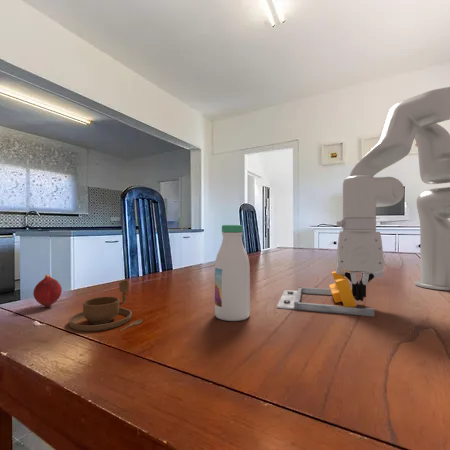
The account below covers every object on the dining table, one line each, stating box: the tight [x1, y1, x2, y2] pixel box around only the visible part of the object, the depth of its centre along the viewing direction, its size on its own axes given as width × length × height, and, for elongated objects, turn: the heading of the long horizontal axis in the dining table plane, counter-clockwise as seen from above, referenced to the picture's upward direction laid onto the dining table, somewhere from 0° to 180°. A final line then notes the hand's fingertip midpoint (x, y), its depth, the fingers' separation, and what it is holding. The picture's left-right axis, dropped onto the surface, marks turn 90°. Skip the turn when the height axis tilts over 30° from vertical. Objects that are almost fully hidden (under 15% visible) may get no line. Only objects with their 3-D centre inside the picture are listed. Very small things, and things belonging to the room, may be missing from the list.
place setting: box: [68, 280, 143, 332], centre depth 62 cm, size 18×20×6 cm
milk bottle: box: [214, 224, 251, 322], centre depth 61 cm, size 8×8×20 cm
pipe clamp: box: [328, 270, 357, 307], centre depth 72 cm, size 12×4×6 cm, turn 164°
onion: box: [32, 273, 62, 308], centre depth 69 cm, size 6×6×8 cm
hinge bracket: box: [276, 286, 375, 317], centre depth 73 cm, size 18×21×2 cm
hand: (358, 299), depth 70 cm, fingers closed
